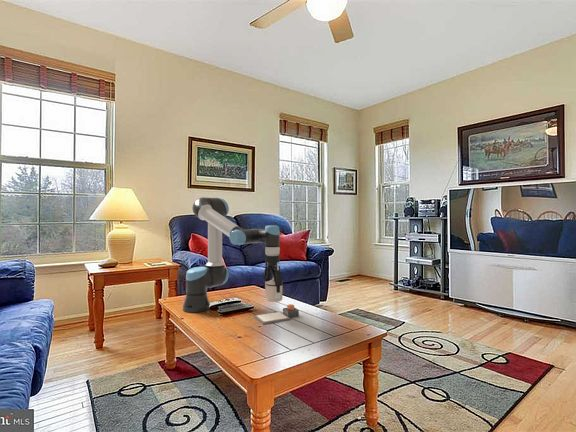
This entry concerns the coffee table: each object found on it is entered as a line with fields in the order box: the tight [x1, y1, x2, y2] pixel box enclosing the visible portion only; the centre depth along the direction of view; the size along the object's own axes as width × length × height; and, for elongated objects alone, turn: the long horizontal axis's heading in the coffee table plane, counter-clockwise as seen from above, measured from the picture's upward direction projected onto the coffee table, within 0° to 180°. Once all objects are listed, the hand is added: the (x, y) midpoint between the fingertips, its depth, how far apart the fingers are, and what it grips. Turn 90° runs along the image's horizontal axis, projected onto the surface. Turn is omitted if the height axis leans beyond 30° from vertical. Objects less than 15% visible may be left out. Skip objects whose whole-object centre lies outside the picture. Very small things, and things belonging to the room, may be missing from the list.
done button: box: [286, 303, 295, 311], centre depth 175 cm, size 4×4×3 cm
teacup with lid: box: [264, 277, 284, 303], centre depth 169 cm, size 12×9×12 cm
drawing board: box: [253, 311, 292, 325], centre depth 170 cm, size 13×16×1 cm
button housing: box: [282, 306, 300, 319], centre depth 175 cm, size 6×6×4 cm
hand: (272, 295), depth 169 cm, fingers closed on teacup with lid, 12 cm apart
